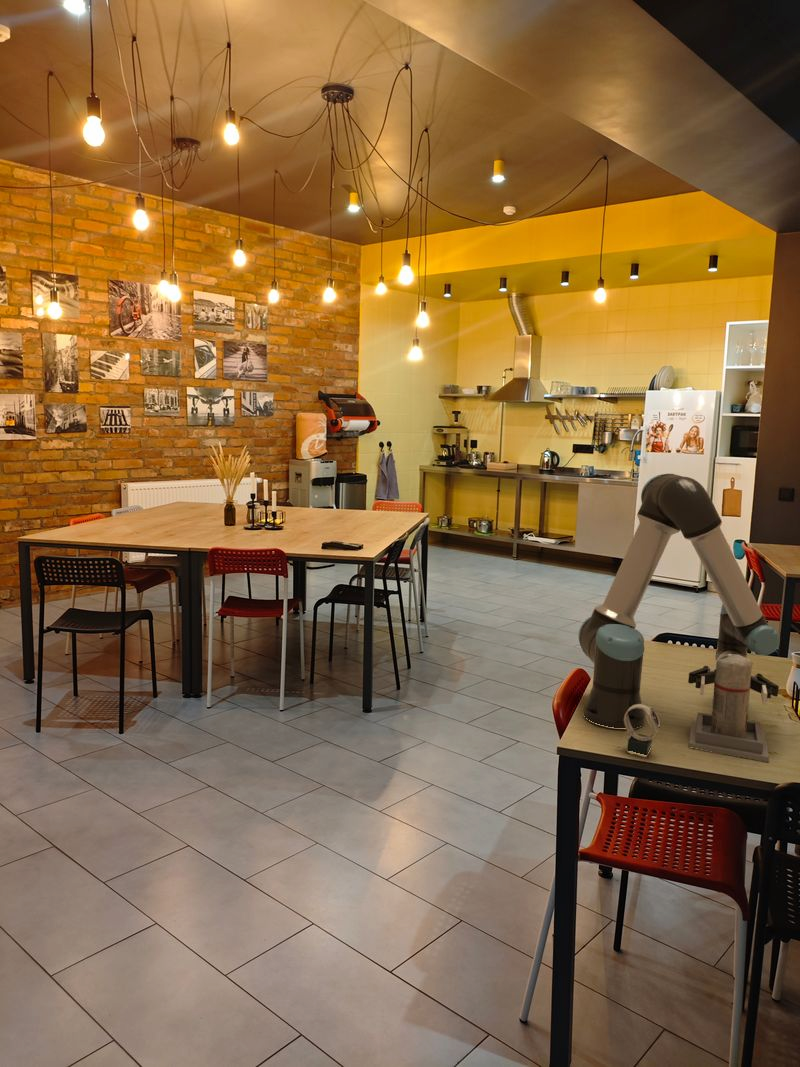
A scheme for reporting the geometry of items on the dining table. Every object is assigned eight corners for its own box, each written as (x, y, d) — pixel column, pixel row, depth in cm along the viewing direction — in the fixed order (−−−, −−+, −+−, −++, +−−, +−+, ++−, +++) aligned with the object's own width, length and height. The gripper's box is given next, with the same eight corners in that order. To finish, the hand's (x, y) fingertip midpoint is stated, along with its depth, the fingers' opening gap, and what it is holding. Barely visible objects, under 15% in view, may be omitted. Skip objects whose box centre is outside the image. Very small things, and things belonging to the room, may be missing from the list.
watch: (655, 760, 177) (659, 713, 175) (619, 751, 180) (623, 706, 179) (659, 751, 182) (663, 705, 180) (624, 743, 185) (628, 698, 184)
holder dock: (688, 748, 184) (690, 733, 183) (691, 723, 200) (692, 709, 199) (768, 762, 178) (770, 746, 177) (764, 735, 193) (765, 721, 193)
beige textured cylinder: (741, 746, 183) (749, 664, 180) (705, 737, 188) (713, 656, 185) (750, 736, 190) (758, 656, 187) (715, 727, 194) (722, 649, 192)
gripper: (783, 690, 199) (790, 718, 180) (679, 675, 208) (675, 700, 189) (786, 662, 198) (793, 687, 179) (682, 648, 207) (678, 670, 188)
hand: (733, 694), depth 184 cm, fingers open, 13 cm apart
